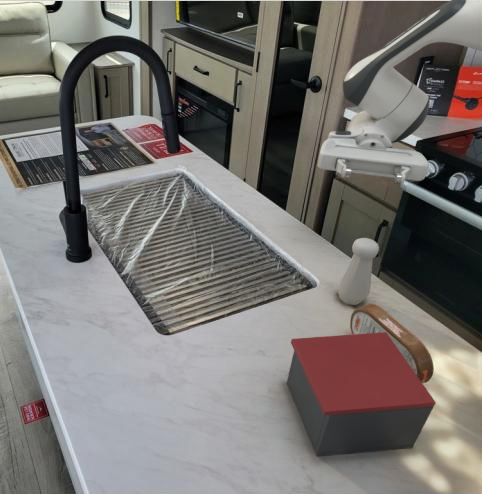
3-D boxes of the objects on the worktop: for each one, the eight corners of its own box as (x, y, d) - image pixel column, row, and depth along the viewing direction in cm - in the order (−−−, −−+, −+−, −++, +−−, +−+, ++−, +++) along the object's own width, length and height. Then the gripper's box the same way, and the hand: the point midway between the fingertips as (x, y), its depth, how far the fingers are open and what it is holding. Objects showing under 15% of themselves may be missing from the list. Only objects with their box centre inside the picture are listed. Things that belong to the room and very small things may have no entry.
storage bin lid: (323, 416, 59) (325, 411, 59) (290, 342, 70) (291, 338, 69) (433, 406, 60) (436, 402, 60) (384, 336, 71) (386, 331, 70)
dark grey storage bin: (316, 456, 64) (330, 415, 59) (286, 382, 74) (295, 342, 70) (412, 448, 65) (433, 407, 60) (369, 376, 76) (384, 336, 71)
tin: (425, 393, 73) (443, 355, 68) (409, 400, 72) (427, 361, 67) (356, 329, 84) (368, 292, 80) (342, 334, 83) (353, 297, 79)
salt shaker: (341, 284, 95) (357, 229, 87) (370, 296, 92) (389, 240, 84) (329, 299, 91) (345, 243, 84) (359, 312, 88) (378, 255, 81)
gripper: (418, 170, 100) (427, 200, 89) (316, 158, 105) (314, 185, 94) (427, 141, 96) (439, 169, 85) (322, 130, 101) (320, 155, 90)
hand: (372, 177), depth 90 cm, fingers open, 8 cm apart
